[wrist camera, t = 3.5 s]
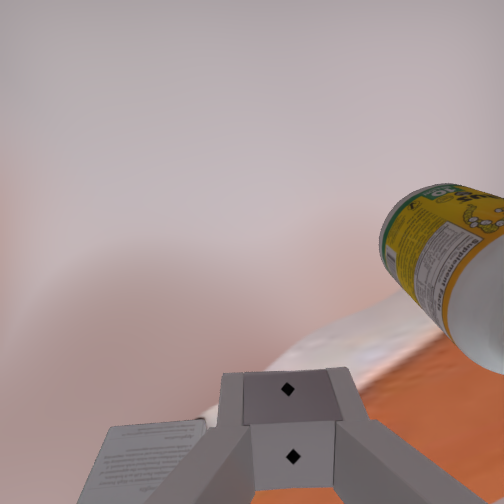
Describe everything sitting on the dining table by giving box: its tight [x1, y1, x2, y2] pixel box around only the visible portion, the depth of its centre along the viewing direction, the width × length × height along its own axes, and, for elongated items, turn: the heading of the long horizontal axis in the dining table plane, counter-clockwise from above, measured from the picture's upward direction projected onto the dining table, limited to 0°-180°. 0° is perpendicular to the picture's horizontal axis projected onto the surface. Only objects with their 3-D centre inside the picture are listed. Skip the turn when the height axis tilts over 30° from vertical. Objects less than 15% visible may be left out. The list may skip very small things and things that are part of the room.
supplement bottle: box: [379, 183, 504, 375], centre depth 13 cm, size 5×5×10 cm
